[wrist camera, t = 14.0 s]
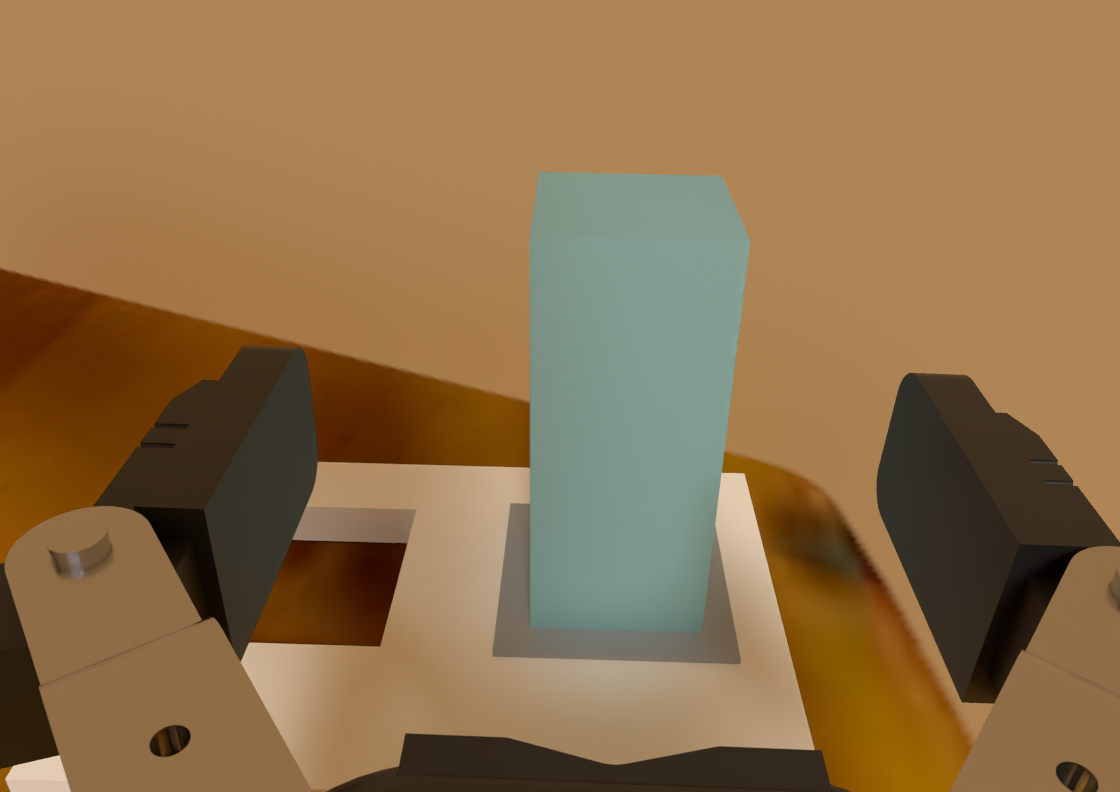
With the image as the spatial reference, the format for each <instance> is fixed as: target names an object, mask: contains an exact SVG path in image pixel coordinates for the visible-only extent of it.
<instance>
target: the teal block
mask: <svg viewBox="0 0 1120 792" xmlns="http://www.w3.org/2000/svg"><path fill="white" fill-rule="evenodd" d="M749 247H750V239H749V237H748V235H747V232H746V230H745V228H744V225H743V223H742V221H741V219H740V216H739V214H738V212H737V209H736V207H735V205H734V202H733V200H732V198H731V195H730V193H729V191H728V189H727V186H726V184H725V182H724V179H723V177H722V176H698V175H652V174H651V175H650V174H606V173H561V172H559V173H558V172H539V176H538V183H537V190H536V197H535V204H534V211H533V218H532V224H531V231H530V628H559V629H595V630H631V631H667V632H702V627H703V619H704V611H705V603H706V595H707V587H708V579H709V571H710V562H711V554H712V546H713V538H714V530H715V522H716V514H717V506H718V498H719V490H720V482H721V474H722V465H723V457H724V449H725V441H726V432H727V425H728V416H729V408H730V401H731V393H732V385H733V376H734V368H735V360H736V352H737V344H738V336H739V328H740V319H741V312H742V304H743V296H744V288H745V279H746V271H747V263H748V255H749Z"/></svg>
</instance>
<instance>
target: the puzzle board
mask: <svg viewBox="0 0 1120 792" xmlns="http://www.w3.org/2000/svg"><path fill="white" fill-rule="evenodd" d="M292 540H314V541H348V542H383V543H408V544H407V547H406V551H405V555H404V559H403V562H402V566H401V570H400V574H399V578H398V581H397V585H396V589H395V593H394V596H393V600H392V604H391V608H390V612H389V615H388V619H387V623H386V627H385V631H384V634H383V638H382V642H381V646H380V647H376V646H343V645H310V644H278V643H249V644H248V646H247V648H246V651H245V653H244V656H243V658H242V660H241V664H242V666H243V667H244V669H245V671H246V673H247V675H248V676H249V678H250V680H251V682H252V684H253V685H254V687H255V689H256V691H257V693H258V694H259V696H260V698H261V700H262V702H263V703H264V705H265V707H266V709H267V711H268V712H269V714H270V716H271V718H272V720H273V721H274V723H275V725H276V727H277V729H278V730H279V732H280V734H281V736H282V738H283V739H284V741H285V743H286V745H287V747H288V748H289V750H290V752H291V754H292V756H293V757H294V759H295V761H296V763H297V765H298V766H299V768H300V770H301V772H302V774H303V775H304V777H305V779H306V781H307V783H308V784H309V786H310V788H311V790H312V792H326V791H328V790H330V789H332V788H333V787H336V786H338V785H340V784H343V783H345V782H348V781H350V780H352V779H355V778H357V777H360V776H363V775H367V774H370V773H373V772H377V771H380V770H384V769H388V768H393V767H398V766H399V763H400V758H401V753H402V748H403V743H404V738H405V733H411V734H435V735H459V736H484V737H508V738H511V739H515V740H519V741H522V742H526V743H530V744H534V745H537V746H541V747H545V748H549V749H552V750H556V751H560V752H563V753H567V754H571V755H575V756H578V757H582V758H586V759H590V760H593V761H597V762H601V763H605V764H612V765H620V764H627V763H633V762H638V761H643V760H649V759H654V758H659V757H664V756H670V755H675V754H680V753H686V752H691V751H696V750H702V749H707V748H712V747H717V746H727V747H751V748H775V749H800V750H815V749H814V745H813V741H812V737H811V734H810V730H809V726H808V722H807V718H806V714H805V710H804V706H803V702H802V698H801V694H800V690H799V686H798V682H797V679H796V675H795V671H794V667H793V663H792V659H791V655H790V651H789V647H788V643H787V639H786V635H785V631H784V627H783V624H782V620H781V616H780V612H779V608H778V604H777V600H776V596H775V592H774V588H773V584H772V580H771V576H770V572H769V568H768V565H767V561H766V557H765V553H764V549H763V545H762V541H761V537H760V533H759V529H758V525H757V521H756V517H755V513H754V510H753V506H752V502H751V498H750V494H749V490H748V486H747V482H746V478H745V474H739V473H722V474H721V482H720V490H719V498H718V506H717V514H716V522H715V530H714V538H713V546H712V554H711V562H710V571H709V579H708V587H707V595H706V603H705V611H704V619H703V627H702V632H667V631H631V630H595V629H559V628H530V468H522V467H486V466H449V465H413V464H377V463H341V462H318V466H317V475H316V480H315V485H314V488H313V491H312V494H311V496H310V499H309V501H308V503H307V506H306V508H305V510H304V513H303V515H302V518H301V520H300V522H299V525H298V527H297V530H296V532H295V534H294V537H293V539H292ZM5 780H6V782H7V784H8V787H9V789H10V791H11V792H71V791H70V787H69V784H68V781H67V778H66V775H65V771H64V768H63V765H62V762H61V758H60V755H59V756H54V757H50V758H46V759H41V760H37V761H32V762H28V763H24V764H19V765H15V766H13V767H12V769H11V771H10V772H9V774H8V775H7V777H6V778H5Z"/></svg>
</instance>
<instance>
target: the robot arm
mask: <svg viewBox="0 0 1120 792" xmlns="http://www.w3.org/2000/svg"><path fill="white" fill-rule="evenodd" d="M140 443H141V446H140V447H137V448H136V449H135V450H134V452H133V453H132V454H131V456H130V457H129V458H128V460H127V461H126V463H125V464H124V465H123V467H122V468H121V469H120V471H119V472H118V473H117V475H116V476H115V477H114V479H113V480H112V481H111V483H110V484H109V486H108V487H107V488H106V490H105V491H104V492H103V494H102V495H101V496H100V498H99V499H98V500H97V502H96V503H95V504H94V506H93V507H88V508H82V509H77V510H73V511H70V512H66V513H63V514H60V515H58V516H55V517H53V518H50V519H48V520H46V521H44V522H42V523H40V524H39V525H37V526H35V527H34V528H32V529H31V530H29V531H28V532H27V533H25V534H24V535H23V536H22V537H21V538H20V539H18V540H17V541H16V542H15V544H14V545H13V546H12V548H11V549H10V550H9V552H8V554H7V557H6V560H5V563H2V564H0V769H1V768H6V767H10V766H15V765H19V764H24V763H28V762H32V761H37V760H41V759H46V758H50V757H54V756H59V755H60V758H61V762H62V765H63V768H64V771H65V775H66V778H67V781H68V784H69V787H70V791H71V792H312V790H311V788H310V786H309V784H308V783H307V781H306V779H305V777H304V775H303V774H302V772H301V770H300V768H299V766H298V765H297V763H296V761H295V759H294V757H293V756H292V754H291V752H290V750H289V748H288V747H287V745H286V743H285V741H284V739H283V738H282V736H281V734H280V732H279V730H278V729H277V727H276V725H275V723H274V721H273V720H272V718H271V716H270V714H269V712H268V711H267V709H266V707H265V705H264V703H263V702H262V700H261V698H260V696H259V694H258V693H257V691H256V689H255V687H254V685H253V684H252V682H251V680H250V678H249V676H248V675H247V673H246V671H245V669H244V667H243V666H242V664H241V660H242V658H243V656H244V653H245V651H246V648H247V646H248V644H249V641H250V639H251V637H252V634H253V632H254V629H255V627H256V625H257V622H258V620H259V617H260V615H261V613H262V610H263V608H264V606H265V603H266V601H267V598H268V596H269V594H270V591H271V589H272V587H273V584H274V582H275V579H276V577H277V575H278V572H279V570H280V568H281V565H282V563H283V560H284V558H285V556H286V553H287V551H288V549H289V546H290V544H291V541H292V539H293V537H294V534H295V532H296V530H297V527H298V525H299V522H300V520H301V518H302V515H303V513H304V510H305V508H306V506H307V503H308V501H309V499H310V496H311V494H312V491H313V488H314V485H315V480H316V475H317V466H318V446H317V437H316V429H315V421H314V412H313V404H312V396H311V388H310V380H309V372H308V365H307V360H306V356H305V353H304V352H303V350H302V349H301V348H292V347H267V346H244V347H242V348H241V349H240V350H239V352H238V353H237V355H236V356H235V358H234V359H233V361H232V362H231V364H230V365H229V367H228V368H227V370H226V371H225V373H224V374H223V376H222V377H221V378H220V380H219V381H211V380H202V381H200V382H199V383H197V384H196V385H194V386H193V387H191V388H190V389H188V390H186V391H185V392H183V393H182V394H180V395H179V396H177V397H176V398H174V399H172V400H171V402H170V403H169V404H168V406H167V407H166V408H165V410H164V411H163V413H162V414H161V415H160V417H159V418H158V419H157V421H156V422H155V427H154V428H151V429H150V430H149V431H148V433H147V434H146V436H145V437H144V438H143V440H142V441H141V442H140ZM1057 462H1058V460H1057V459H1056V457H1055V456H1054V455H1053V453H1052V452H1051V451H1050V450H1049V448H1048V447H1047V446H1046V444H1045V443H1044V442H1043V440H1042V439H1041V438H1040V436H1039V435H1037V434H1036V433H1035V432H1033V431H1031V430H1030V429H1029V428H1027V427H1026V426H1024V425H1023V424H1022V423H1020V422H1019V421H1017V420H1016V419H1014V418H1013V417H1011V416H1010V415H1008V414H1007V413H995V411H994V410H993V409H992V407H991V406H990V404H989V403H988V402H987V400H986V399H985V398H984V396H983V395H982V393H981V392H980V390H979V389H978V388H977V386H976V385H975V383H974V382H973V381H972V379H971V378H970V377H968V376H966V375H951V374H925V373H909V374H907V375H906V376H905V377H904V378H903V380H902V382H901V384H900V386H899V390H898V393H897V397H896V401H895V405H894V409H893V413H892V417H891V421H890V425H889V429H888V433H887V437H886V441H885V445H884V449H883V453H882V457H881V461H880V464H879V469H878V475H877V502H878V508H879V512H880V514H881V517H882V520H883V522H884V524H885V527H886V529H887V531H888V533H889V536H890V538H891V540H892V543H893V545H894V547H895V550H896V552H897V554H898V556H899V559H900V561H901V563H902V566H903V568H904V570H905V573H906V575H907V577H908V579H909V582H910V584H911V586H912V589H913V591H914V593H915V595H916V598H917V600H918V602H919V605H920V607H921V609H922V612H923V614H924V616H925V618H926V621H927V623H928V625H929V628H930V630H931V632H932V634H933V637H934V639H935V642H936V644H937V646H938V648H939V651H940V653H941V655H942V658H943V660H944V662H945V665H946V667H947V669H948V671H949V674H950V676H951V678H952V681H953V683H954V685H955V688H956V690H957V692H958V694H959V697H960V699H961V701H962V702H969V703H993V704H994V705H993V707H992V709H991V711H990V713H989V715H988V717H987V719H986V721H985V723H984V725H983V727H982V729H981V731H980V733H979V735H978V737H977V739H976V741H975V743H974V745H973V747H972V749H971V751H970V753H969V755H968V757H967V759H966V761H965V763H964V765H963V767H962V769H961V771H960V773H959V775H958V777H957V779H956V781H955V783H954V785H953V787H952V789H951V790H950V792H1120V542H1119V541H1118V539H1117V538H1116V537H1115V536H1114V534H1113V533H1112V531H1111V530H1110V529H1109V527H1108V526H1107V525H1106V524H1105V522H1104V521H1103V519H1102V518H1101V517H1100V516H1099V514H1098V513H1097V512H1096V510H1095V509H1094V508H1093V506H1092V505H1091V504H1090V502H1089V501H1088V500H1087V498H1086V497H1085V496H1084V494H1083V493H1082V492H1081V490H1080V489H1079V488H1078V486H1073V480H1072V479H1071V477H1070V476H1069V475H1068V473H1067V472H1066V471H1065V469H1064V468H1063V467H1062V466H1061V465H1058V464H1057ZM326 792H850V791H848V790H845V789H842V788H839V787H835V786H832V785H830V782H829V778H828V774H827V770H826V766H825V762H824V758H823V755H822V751H821V750H800V749H775V748H751V747H727V746H717V747H712V748H707V749H702V750H696V751H691V752H686V753H680V754H675V755H670V756H664V757H659V758H654V759H649V760H643V761H638V762H633V763H627V764H620V765H612V764H605V763H601V762H597V761H593V760H590V759H586V758H582V757H578V756H575V755H571V754H567V753H563V752H560V751H556V750H552V749H549V748H545V747H541V746H537V745H534V744H530V743H526V742H522V741H519V740H515V739H511V738H508V737H484V736H459V735H435V734H411V733H405V738H404V743H403V748H402V753H401V758H400V763H399V766H398V767H393V768H388V769H384V770H380V771H377V772H373V773H370V774H367V775H363V776H360V777H357V778H355V779H352V780H350V781H348V782H345V783H343V784H340V785H338V786H336V787H333V788H332V789H330V790H328V791H326Z"/></svg>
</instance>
